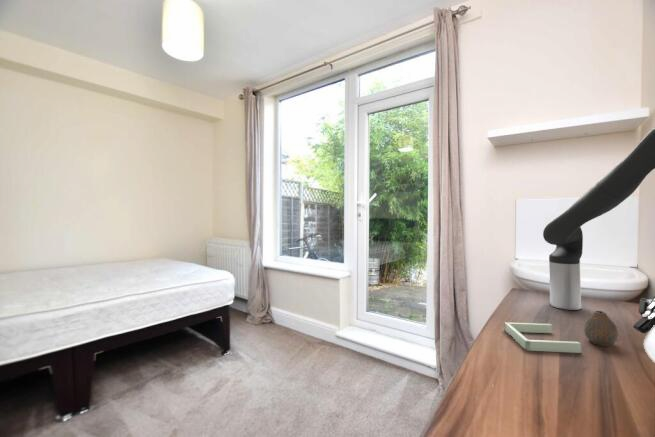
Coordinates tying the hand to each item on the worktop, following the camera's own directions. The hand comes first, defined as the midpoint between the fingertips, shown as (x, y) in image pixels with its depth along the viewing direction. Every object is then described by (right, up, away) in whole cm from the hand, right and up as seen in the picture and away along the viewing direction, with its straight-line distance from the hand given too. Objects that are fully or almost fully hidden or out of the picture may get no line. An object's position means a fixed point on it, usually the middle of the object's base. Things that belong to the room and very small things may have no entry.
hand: (638, 330), depth 79 cm
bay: (-23, -5, +5) cm, 24 cm away
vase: (-9, -5, +2) cm, 10 cm away
